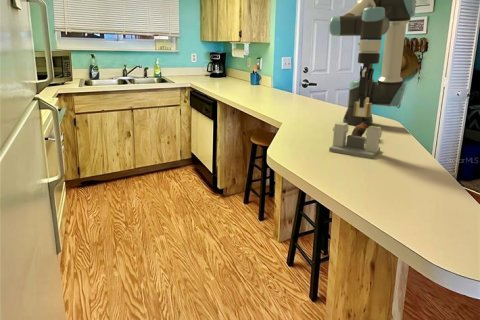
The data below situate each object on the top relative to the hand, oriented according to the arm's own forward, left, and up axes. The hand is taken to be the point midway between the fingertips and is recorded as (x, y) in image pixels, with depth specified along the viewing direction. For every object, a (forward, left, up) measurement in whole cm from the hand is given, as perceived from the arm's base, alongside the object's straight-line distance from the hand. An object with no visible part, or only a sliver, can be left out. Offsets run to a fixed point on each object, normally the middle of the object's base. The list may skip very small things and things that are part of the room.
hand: (362, 114), depth 142 cm
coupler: (0, 0, 0) cm, 0 cm away
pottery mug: (-20, -4, -15) cm, 26 cm away
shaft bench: (+1, -1, -15) cm, 15 cm away
